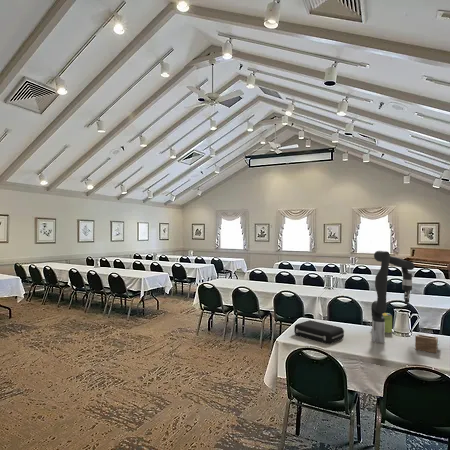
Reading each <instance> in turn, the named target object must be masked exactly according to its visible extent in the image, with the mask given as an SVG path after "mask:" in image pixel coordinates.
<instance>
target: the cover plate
mask: <svg viewBox="0 0 450 450" xmlns="http://www.w3.org/2000/svg"><path fill="white" fill-rule="evenodd" d="M422 335H425V336H431V337H436V336H435V335H431V334H425V333H424V334H422ZM439 343H440V340H438V345H439Z"/></svg>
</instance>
